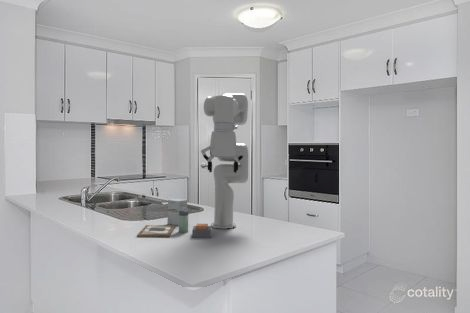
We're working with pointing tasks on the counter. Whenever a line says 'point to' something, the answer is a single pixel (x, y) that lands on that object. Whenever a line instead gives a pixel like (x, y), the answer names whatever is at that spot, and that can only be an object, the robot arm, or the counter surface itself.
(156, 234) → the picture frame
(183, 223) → the cylinder
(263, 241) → the counter surface
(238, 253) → the counter surface
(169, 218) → the supplement box
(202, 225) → the button
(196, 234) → the button housing
